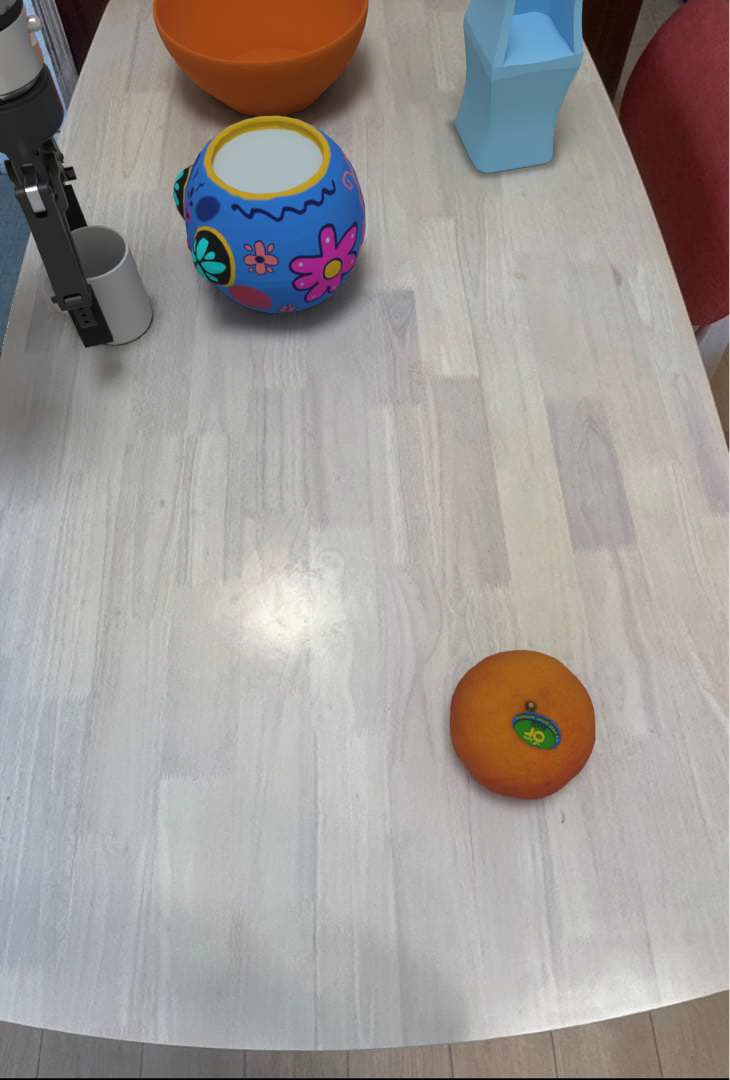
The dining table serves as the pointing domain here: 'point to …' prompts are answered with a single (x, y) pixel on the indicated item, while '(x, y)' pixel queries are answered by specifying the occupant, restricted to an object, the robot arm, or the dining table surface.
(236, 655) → the dining table surface
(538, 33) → the vase
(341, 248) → the ceramic pot
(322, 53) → the bowl
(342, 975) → the dining table surface
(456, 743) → the fruit
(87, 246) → the cup
